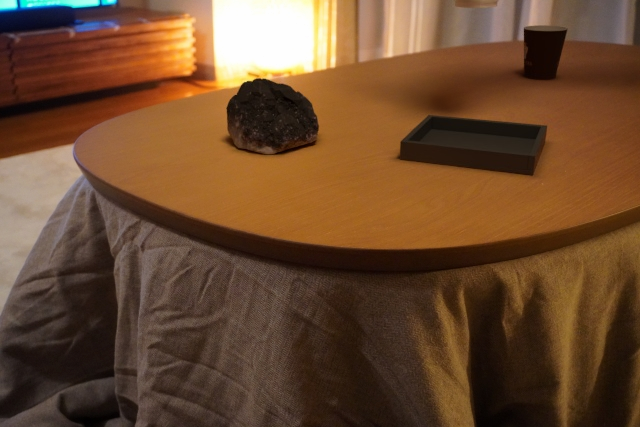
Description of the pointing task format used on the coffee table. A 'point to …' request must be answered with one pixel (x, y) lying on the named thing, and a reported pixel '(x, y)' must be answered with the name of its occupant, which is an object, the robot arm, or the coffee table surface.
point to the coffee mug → (542, 51)
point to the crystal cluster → (270, 117)
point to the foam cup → (476, 3)
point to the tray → (475, 144)
